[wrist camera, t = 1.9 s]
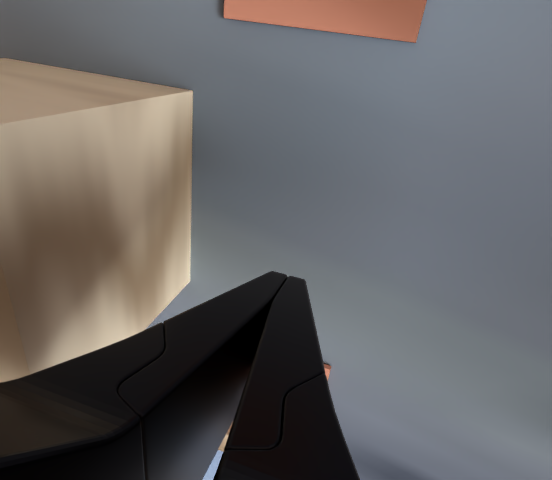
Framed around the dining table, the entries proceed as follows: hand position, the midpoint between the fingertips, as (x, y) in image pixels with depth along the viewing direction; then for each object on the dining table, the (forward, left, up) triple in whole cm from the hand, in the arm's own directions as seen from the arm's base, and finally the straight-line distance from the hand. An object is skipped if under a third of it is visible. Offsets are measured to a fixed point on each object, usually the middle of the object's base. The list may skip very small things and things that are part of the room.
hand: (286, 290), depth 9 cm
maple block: (0, +8, -4) cm, 9 cm away
